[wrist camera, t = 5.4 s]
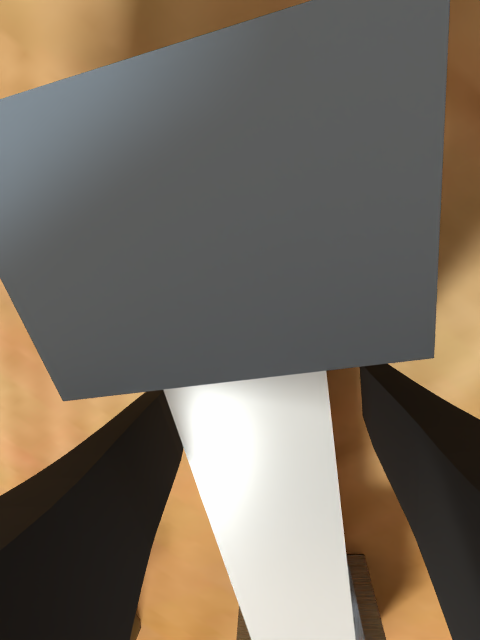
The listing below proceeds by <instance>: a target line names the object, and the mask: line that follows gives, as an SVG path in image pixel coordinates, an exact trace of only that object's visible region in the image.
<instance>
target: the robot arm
mask: <svg viewBox="0 0 480 640" xmlns="http://www.w3.org/2000/svg"><path fill="white" fill-rule="evenodd" d="M360 379H361V395H362V412H363V418H364V421H365V424H366V427H367V430H368V433H369V436H370V439H371V442H372V445H373V447H374V450H375V452H376V454H377V456H378V458H379V460H380V463H381V465H382V467H383V469H384V471H385V473H386V475H387V478H388V480H389V482H390V484H391V486H392V488H393V490H394V492H395V494H396V497H397V499H398V501H399V503H400V505H401V507H402V509H403V511H404V514H405V516H406V518H407V520H408V522H409V524H410V527H411V529H412V531H413V534H414V536H415V538H416V541H417V543H418V546H419V549H420V551H421V554H422V557H423V559H424V562H425V565H426V567H427V570H428V573H429V576H430V578H431V581H432V584H433V586H434V589H435V592H436V595H437V597H438V600H439V603H440V606H441V609H442V611H443V614H444V617H445V620H446V623H447V625H448V628H449V631H450V634H451V636H452V639H453V640H480V419H478V418H476V417H474V416H472V415H470V414H469V413H467V412H465V411H463V410H461V409H459V408H458V407H456V406H454V405H452V404H450V403H449V402H447V401H445V400H444V399H442V398H440V397H439V396H437V395H435V394H434V393H432V392H430V391H429V390H427V389H425V388H424V387H422V386H421V385H419V384H418V383H416V382H414V381H413V380H411V379H410V378H408V377H407V376H405V375H404V374H402V373H401V372H399V371H398V370H396V369H395V368H393V367H392V366H390V365H388V364H379V365H370V366H361V367H360ZM183 448H184V447H183V444H182V441H181V439H180V436H179V433H178V430H177V427H176V424H175V422H174V419H173V416H172V413H171V410H170V407H169V405H168V402H167V399H166V396H165V393H164V390H155V391H147V392H145V393H144V394H143V395H141V396H140V397H139V398H138V399H136V400H135V401H134V402H133V403H131V404H130V405H129V406H128V407H126V408H125V409H124V410H123V411H122V412H120V413H119V414H118V415H117V416H115V417H114V418H113V419H112V420H110V421H109V422H108V423H107V424H105V425H104V426H103V427H102V428H100V429H99V430H98V431H96V432H95V433H94V434H92V435H91V436H90V437H88V438H87V439H86V440H84V441H83V442H82V443H81V444H79V445H78V446H77V447H75V448H74V449H73V450H71V451H70V452H68V453H67V454H66V455H64V456H63V457H61V458H60V459H58V460H57V461H56V462H54V463H53V464H51V465H50V466H48V467H46V468H45V469H43V470H42V471H40V472H39V473H37V474H36V475H34V476H33V477H31V478H30V479H28V480H26V481H25V482H23V483H21V484H20V485H18V486H16V487H15V488H13V489H11V490H9V491H8V492H6V493H4V494H3V495H1V496H0V640H130V637H131V632H132V628H133V623H134V619H135V614H136V610H137V605H138V601H139V597H140V592H141V588H142V584H143V580H144V576H145V572H146V568H147V564H148V560H149V556H150V552H151V548H152V544H153V541H154V538H155V535H156V531H157V528H158V526H159V523H160V520H161V517H162V514H163V511H164V508H165V505H166V502H167V500H168V497H169V494H170V491H171V488H172V485H173V482H174V479H175V476H176V473H177V470H178V467H179V464H180V461H181V457H182V453H183Z"/></svg>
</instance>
